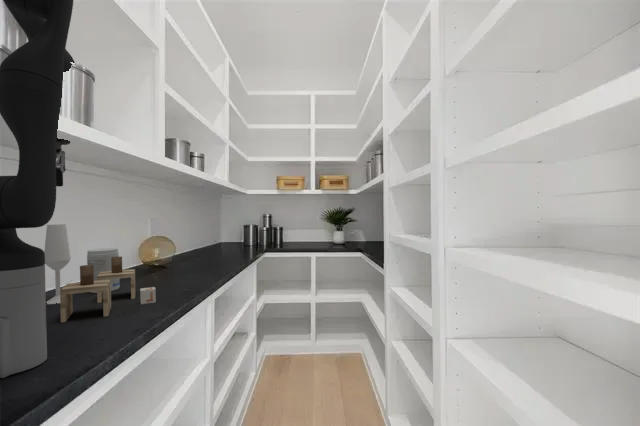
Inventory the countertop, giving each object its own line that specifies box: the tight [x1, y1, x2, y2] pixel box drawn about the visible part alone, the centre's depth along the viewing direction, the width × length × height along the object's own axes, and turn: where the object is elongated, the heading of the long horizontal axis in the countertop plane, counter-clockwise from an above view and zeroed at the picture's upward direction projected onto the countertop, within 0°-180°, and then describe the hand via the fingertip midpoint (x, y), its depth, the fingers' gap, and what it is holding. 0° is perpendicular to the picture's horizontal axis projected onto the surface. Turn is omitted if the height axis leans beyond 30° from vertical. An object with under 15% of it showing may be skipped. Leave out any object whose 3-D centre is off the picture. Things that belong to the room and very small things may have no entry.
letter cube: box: [139, 286, 157, 305], centre depth 104 cm, size 4×4×4 cm
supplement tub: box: [86, 247, 121, 294], centre depth 122 cm, size 10×10×15 cm
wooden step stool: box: [59, 264, 112, 323], centre depth 92 cm, size 10×10×13 cm
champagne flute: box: [43, 223, 71, 305], centre depth 107 cm, size 7×7×24 cm
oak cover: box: [96, 256, 136, 304], centre depth 111 cm, size 10×10×13 cm
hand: (54, 184), depth 93 cm, fingers open, 8 cm apart
